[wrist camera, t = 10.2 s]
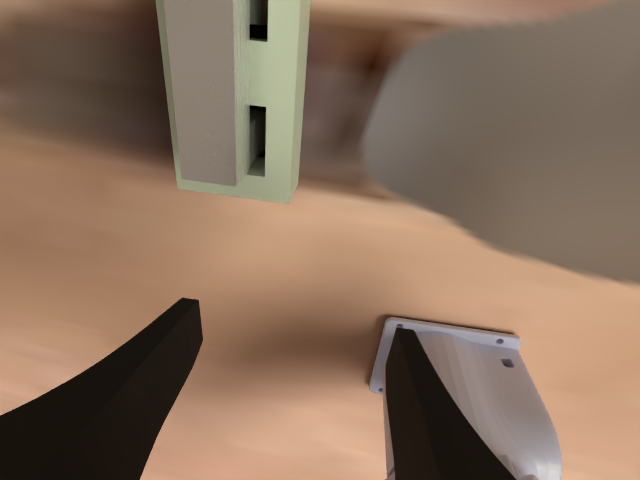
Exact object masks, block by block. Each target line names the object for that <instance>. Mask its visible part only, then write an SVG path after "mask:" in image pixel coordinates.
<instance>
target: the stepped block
mask: <svg viewBox="0 0 640 480" xmlns="http://www.w3.org/2000/svg"><path fill="white" fill-rule="evenodd" d="M164 10H165V20H166V30H167V40H168V49H169V59H170V69H171V79H172V89H173V99H174V109H175V119H176V128H177V138H178V148H179V158H180V168H181V178H182V179H183V180H191V181H198V182H205V183H212V184H219V185H227V186H234V187H237V186H238V184H239V183H240V182H241V181H242V180H243V178H244V177H245V176H246V175H247V174H248V172H249V166H250V165H251V164H252V162H253V161H254V160H255V159H256V158H257V157H258V155H259V154H260V153H261V152H262V151H263V150H264V148H265V145H266V111H262V110H255V109H250V24H257V25H268V0H164Z"/></svg>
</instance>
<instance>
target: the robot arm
mask: <svg viewBox="0 0 640 480" xmlns="http://www.w3.org/2000/svg"><path fill="white" fill-rule="evenodd" d="M398 324H402V325H400V326H398ZM498 339H500V340H498ZM202 341H203V335H202V326H201V317H200V308H199V300H195V299H188V298H181V299H180V300H179V301H177V302H176V303H175V304H174V305H173V306H171V307H170V308H169V309H168V310H166V311H165V312H164V313H163V314H162V315H160V316H159V317H158V318H157V319H156V320H154V321H153V322H152V323H151V324H149V325H148V326H147V327H146V328H144V329H143V330H142V331H140V332H139V333H138V334H137V335H135V336H134V337H133V338H132V339H130V340H129V341H128V342H126V343H125V344H123V345H122V346H121V347H119V348H118V349H116V350H115V351H114V352H112V353H111V354H110V355H108V356H107V357H105V358H104V359H102V360H101V361H99V362H98V363H96V364H95V365H93V366H92V367H90V368H89V369H87V370H85V371H84V372H82V373H81V374H79V375H77V376H76V377H74V378H72V379H71V380H69V381H67V382H65V383H63V384H62V385H60V386H58V387H56V388H54V389H52V390H51V391H49V392H47V393H45V394H43V395H42V396H40V397H38V398H36V399H34V400H32V401H30V402H28V403H26V404H24V405H22V406H20V407H18V408H16V409H14V410H12V411H9V412H7V413H5V414H3V415H1V416H0V480H140V477H141V475H142V472H143V470H144V467H145V465H146V462H147V460H148V457H149V455H150V452H151V450H152V448H153V445H154V443H155V440H156V438H157V436H158V433H159V431H160V429H161V427H162V425H163V423H164V421H165V419H166V417H167V415H168V413H169V412H170V410H171V408H172V406H173V404H174V402H175V400H176V398H177V396H178V394H179V392H180V391H181V389H182V387H183V385H184V383H185V381H186V379H187V377H188V375H189V373H190V371H191V369H192V367H193V365H194V363H195V360H196V357H197V355H198V352H199V349H200V347H201V344H202ZM521 344H522V341H521V339H520V337H519V336H517V335H513V334H506V333H499V332H492V331H485V330H478V329H472V328H465V327H458V326H451V325H444V324H438V323H431V322H424V321H417V320H410V319H404V318H397V317H390V318H388V319H386V321H385V325H384V328H383V332H382V336H381V340H380V344H379V348H378V352H377V356H376V360H375V364H374V367H373V371H372V375H371V379H370V383H369V390H370V391H371V392H373V393H379V394H383V409H384V428H385V448H386V468H387V479H385V480H561V478H562V456H561V449H560V444H559V440H558V436H557V433H556V430H555V427H554V424H553V422H552V420H551V418H550V416H549V413H548V411H547V409H546V407H545V405H544V403H543V401H542V399H541V397H540V395H539V393H538V391H537V389H536V387H535V385H534V382H533V380H532V378H531V376H530V374H529V372H528V370H527V368H526V366H525V364H524V362H523V360H522V358H521V356H520V354H519V351H518V350H519V348H520V346H521Z"/></svg>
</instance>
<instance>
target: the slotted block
mask: <svg viewBox="0 0 640 480" xmlns="http://www.w3.org/2000/svg"><path fill="white" fill-rule="evenodd" d="M310 4H311V0H268V39H261V38H252V37H250V105H255V106H263V107H266V148H265V157H257V158H256V159H255V160H254V161H253V162H252V164H251V165H250V166H249V172H248V174H247V175H246V176H245V177H244V178H243V180H242V181H241V182H240V183H239V184H238V186H237V187H234V186H227V185H219V184H212V183H205V182H198V181H191V180H183V179H182V178H181V168H180V158H179V148H178V138H177V128H176V119H175V109H174V99H173V89H172V79H171V69H170V59H169V49H168V40H167V30H166V20H165V10H164V0H156V8H157V17H158V25H159V34H160V43H161V51H162V60H163V68H164V77H165V86H166V94H167V103H168V112H169V120H170V129H171V138H172V146H173V155H174V163H175V172H176V181H177V189H182V190H190V191H197V192H205V193H212V194H219V195H227V196H234V197H242V198H249V199H257V200H264V201H271V202H279V203H286V204H289V203H290V200H291V198H292V196H293V194H294V191H295V189H296V187H297V184H298V178H299V163H300V149H301V134H302V120H303V105H304V91H305V76H306V62H307V48H308V33H309V19H310Z"/></svg>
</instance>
